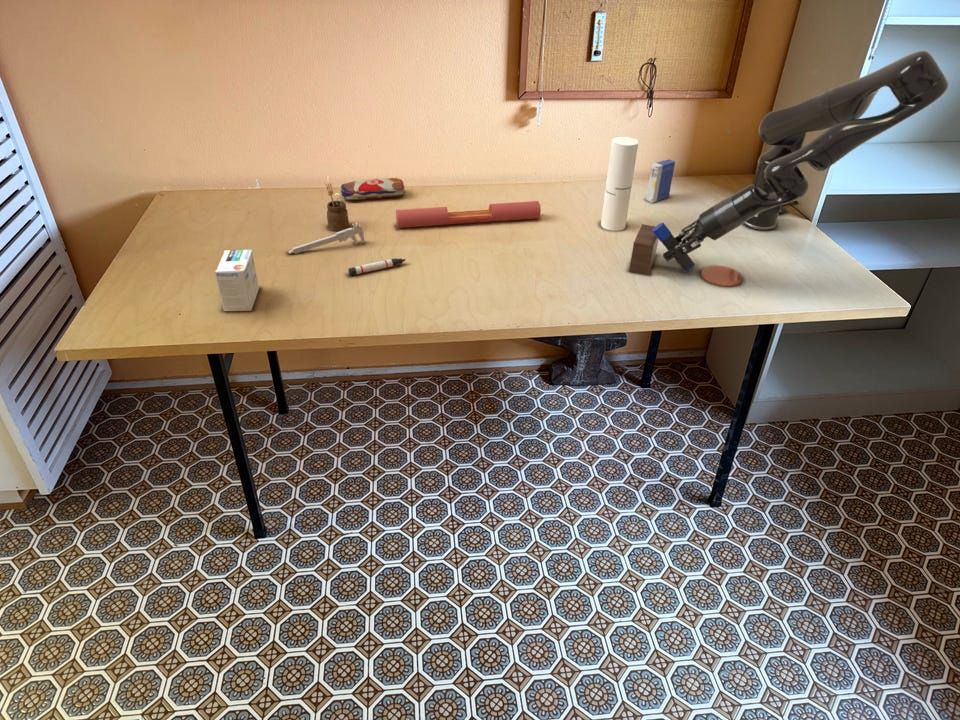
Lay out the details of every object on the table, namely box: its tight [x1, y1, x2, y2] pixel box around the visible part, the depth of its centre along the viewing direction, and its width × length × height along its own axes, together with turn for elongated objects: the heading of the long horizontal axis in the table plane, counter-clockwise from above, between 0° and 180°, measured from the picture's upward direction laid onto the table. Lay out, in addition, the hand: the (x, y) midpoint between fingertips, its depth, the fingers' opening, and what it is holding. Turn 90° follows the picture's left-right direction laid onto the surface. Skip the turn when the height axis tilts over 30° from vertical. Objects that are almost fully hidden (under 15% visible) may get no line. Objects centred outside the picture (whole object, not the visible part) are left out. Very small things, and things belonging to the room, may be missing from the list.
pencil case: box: [339, 177, 406, 201], centre depth 218 cm, size 11×20×5 cm, turn 89°
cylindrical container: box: [600, 136, 639, 232], centre depth 199 cm, size 7×7×25 cm
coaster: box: [701, 265, 743, 287], centre depth 182 cm, size 10×10×1 cm
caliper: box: [288, 221, 365, 255], centre depth 189 cm, size 20×1×6 cm, turn 111°
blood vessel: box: [395, 200, 541, 229], centre depth 204 cm, size 42×5×5 cm, turn 101°
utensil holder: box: [325, 182, 350, 232], centre depth 198 cm, size 6×6×12 cm
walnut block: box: [628, 223, 660, 276], centre depth 185 cm, size 12×5×8 cm, turn 159°
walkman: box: [645, 158, 676, 204], centre depth 219 cm, size 8×3×12 cm, turn 127°
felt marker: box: [652, 222, 696, 273], centre depth 182 cm, size 3×12×12 cm, turn 70°
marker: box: [347, 257, 406, 276], centre depth 181 cm, size 15×2×2 cm, turn 117°
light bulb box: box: [214, 249, 260, 312], centre depth 165 cm, size 11×7×11 cm, turn 5°
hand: (666, 252), depth 183 cm, fingers open, 6 cm apart
